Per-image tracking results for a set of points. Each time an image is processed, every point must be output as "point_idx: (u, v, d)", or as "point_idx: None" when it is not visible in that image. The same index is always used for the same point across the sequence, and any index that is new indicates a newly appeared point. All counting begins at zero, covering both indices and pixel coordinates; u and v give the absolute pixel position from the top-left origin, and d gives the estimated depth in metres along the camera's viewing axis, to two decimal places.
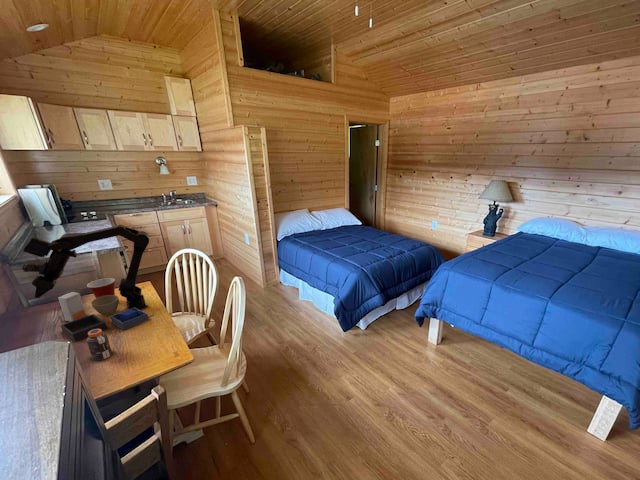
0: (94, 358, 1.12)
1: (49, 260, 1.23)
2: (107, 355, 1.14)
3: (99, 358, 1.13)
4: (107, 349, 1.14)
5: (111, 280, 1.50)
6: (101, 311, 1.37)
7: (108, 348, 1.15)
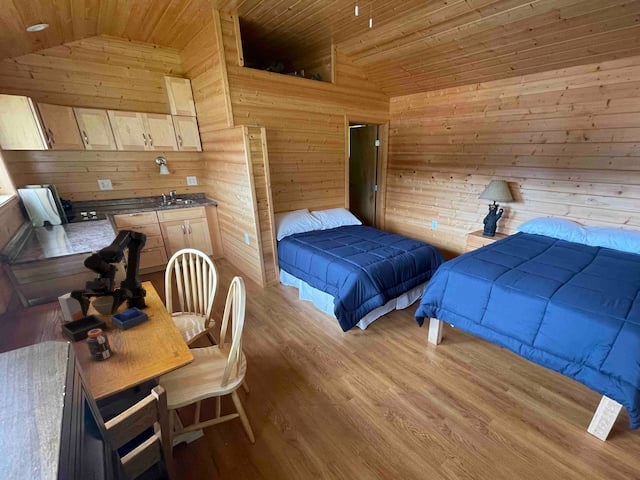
0: (94, 358, 1.12)
1: (108, 275, 1.21)
2: (107, 355, 1.14)
3: (99, 358, 1.13)
4: (107, 349, 1.14)
5: None
6: (101, 311, 1.37)
7: (108, 348, 1.15)
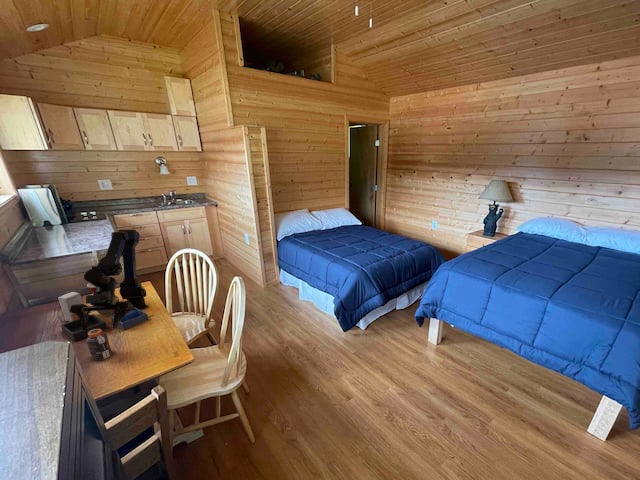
0: (94, 358, 1.12)
1: (108, 288, 1.19)
2: (107, 355, 1.14)
3: (99, 358, 1.13)
4: (107, 349, 1.14)
5: None
6: (101, 311, 1.37)
7: (108, 348, 1.15)
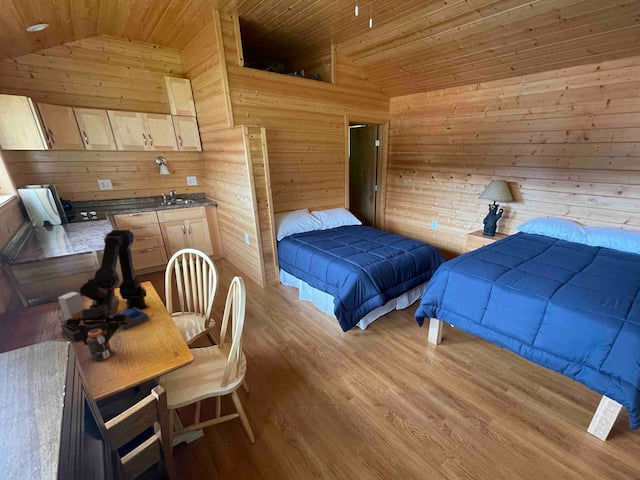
0: (94, 358, 1.12)
1: (105, 301, 1.16)
2: (107, 355, 1.14)
3: (99, 358, 1.13)
4: (107, 349, 1.14)
5: None
6: None
7: (108, 348, 1.15)
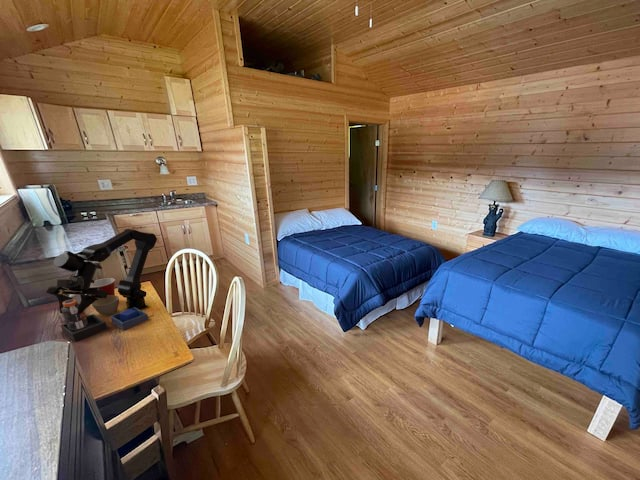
0: (68, 327, 1.17)
1: (84, 273, 1.19)
2: (80, 326, 1.18)
3: (72, 327, 1.17)
4: (81, 320, 1.18)
5: (111, 280, 1.50)
6: (101, 311, 1.37)
7: (82, 319, 1.18)
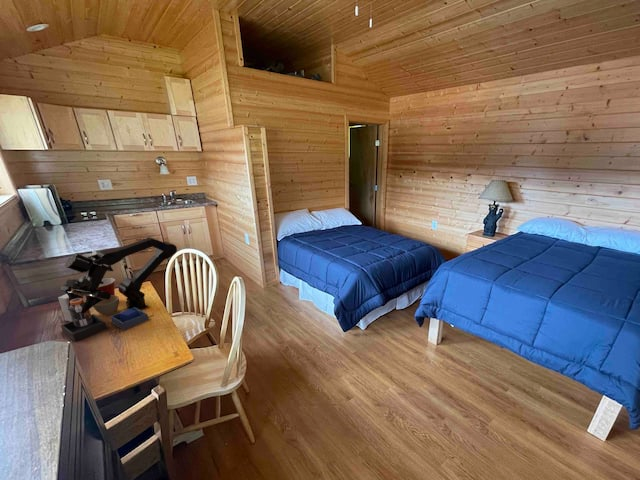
0: (74, 324, 1.25)
1: (93, 275, 1.28)
2: (84, 324, 1.26)
3: (77, 325, 1.25)
4: (85, 318, 1.25)
5: (111, 280, 1.50)
6: (101, 311, 1.37)
7: (86, 317, 1.26)
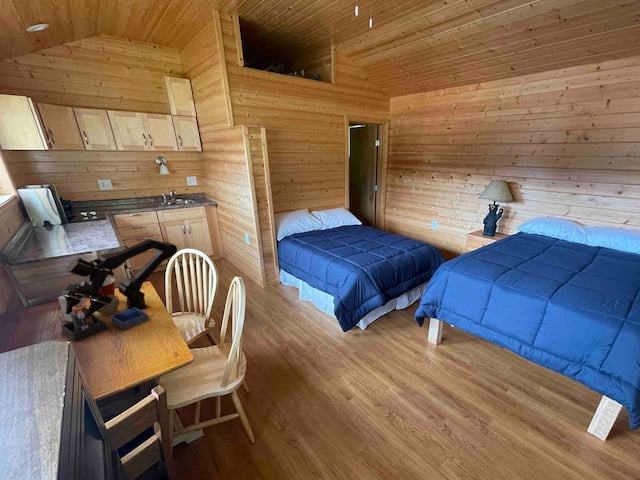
0: (76, 330, 1.26)
1: (95, 279, 1.28)
2: None
3: None
4: (87, 325, 1.26)
5: (111, 280, 1.50)
6: (101, 311, 1.37)
7: (88, 324, 1.27)
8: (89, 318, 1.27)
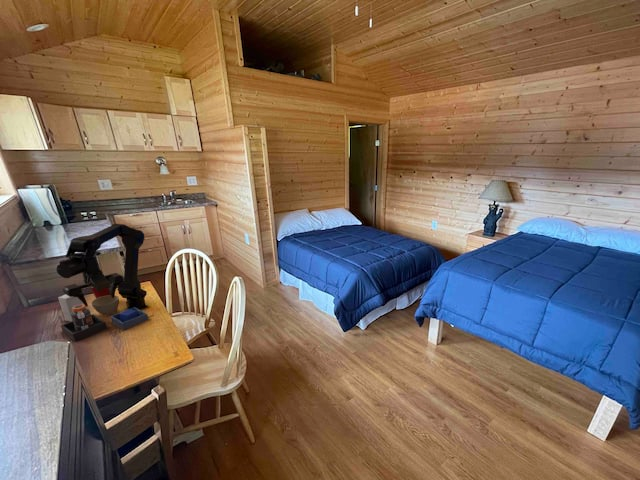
0: (76, 330, 1.26)
1: (98, 267, 1.21)
2: None
3: None
4: (87, 325, 1.26)
5: None
6: (101, 311, 1.37)
7: (88, 324, 1.27)
8: (89, 318, 1.27)
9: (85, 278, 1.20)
